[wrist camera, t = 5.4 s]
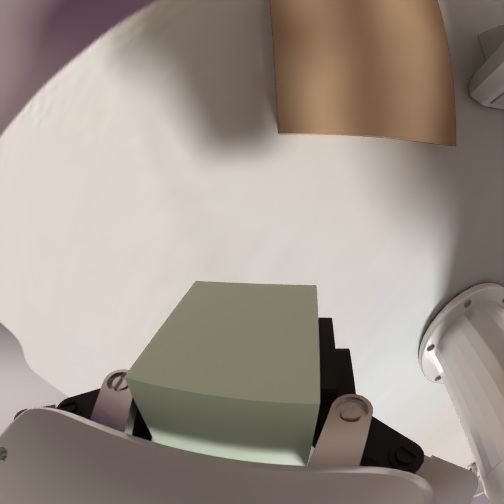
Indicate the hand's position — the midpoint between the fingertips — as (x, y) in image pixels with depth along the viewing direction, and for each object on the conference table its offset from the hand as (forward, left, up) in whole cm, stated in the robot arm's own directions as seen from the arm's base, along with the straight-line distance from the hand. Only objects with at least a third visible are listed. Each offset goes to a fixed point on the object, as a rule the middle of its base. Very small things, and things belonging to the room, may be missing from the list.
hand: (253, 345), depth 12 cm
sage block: (0, 0, -1) cm, 1 cm away
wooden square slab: (-7, -14, -11) cm, 20 cm away
